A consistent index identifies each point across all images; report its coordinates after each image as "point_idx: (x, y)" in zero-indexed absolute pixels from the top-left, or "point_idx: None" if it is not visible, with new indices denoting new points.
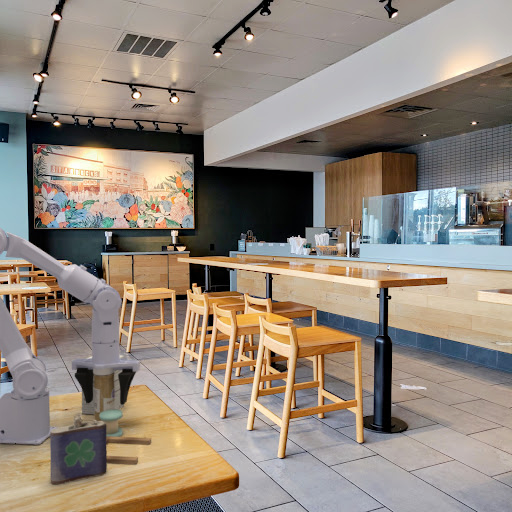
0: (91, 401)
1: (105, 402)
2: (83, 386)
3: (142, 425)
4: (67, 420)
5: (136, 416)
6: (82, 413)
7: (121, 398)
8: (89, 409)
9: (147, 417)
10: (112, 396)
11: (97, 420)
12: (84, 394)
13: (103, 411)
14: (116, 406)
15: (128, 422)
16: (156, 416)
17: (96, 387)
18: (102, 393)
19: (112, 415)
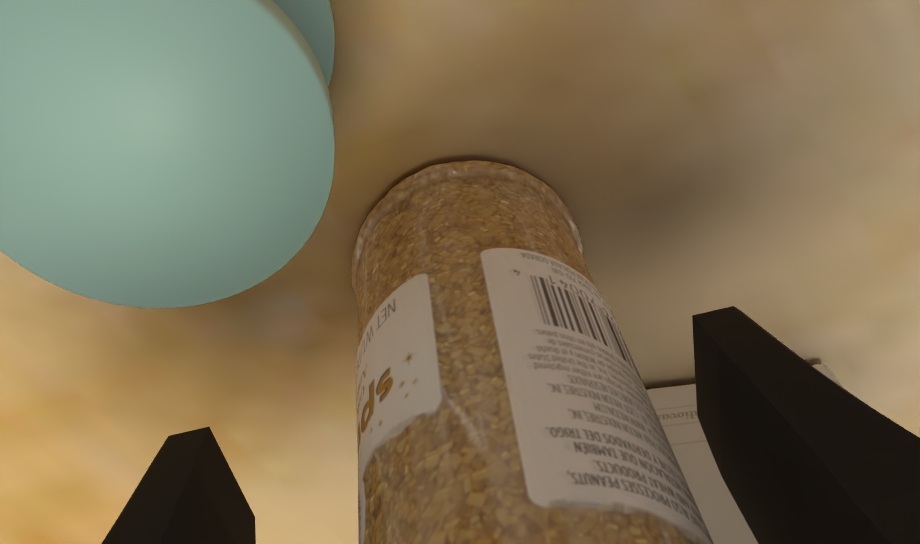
0: None
1: (412, 369)
2: (910, 476)
3: (51, 348)
4: (906, 198)
5: (274, 480)
6: (818, 364)
7: (158, 494)
8: None
9: None
10: (358, 504)
11: (503, 196)
12: (816, 377)
13: (323, 182)
14: None
15: (249, 358)
16: (92, 535)
17: (621, 531)
18: (469, 462)
19: (41, 84)
